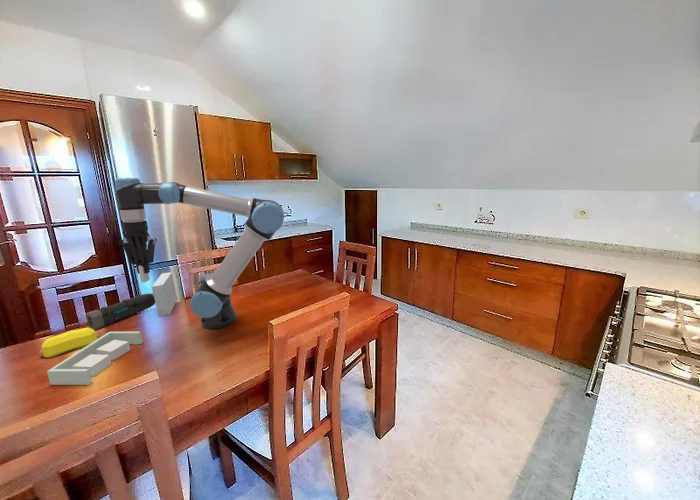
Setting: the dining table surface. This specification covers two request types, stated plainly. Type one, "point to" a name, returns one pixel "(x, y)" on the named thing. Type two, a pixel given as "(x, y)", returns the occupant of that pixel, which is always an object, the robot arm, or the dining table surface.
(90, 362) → the tile
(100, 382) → the dining table surface
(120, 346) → the tile
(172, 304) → the skincare box
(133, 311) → the black handheld tool
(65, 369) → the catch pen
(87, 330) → the yellow bevelled bar
